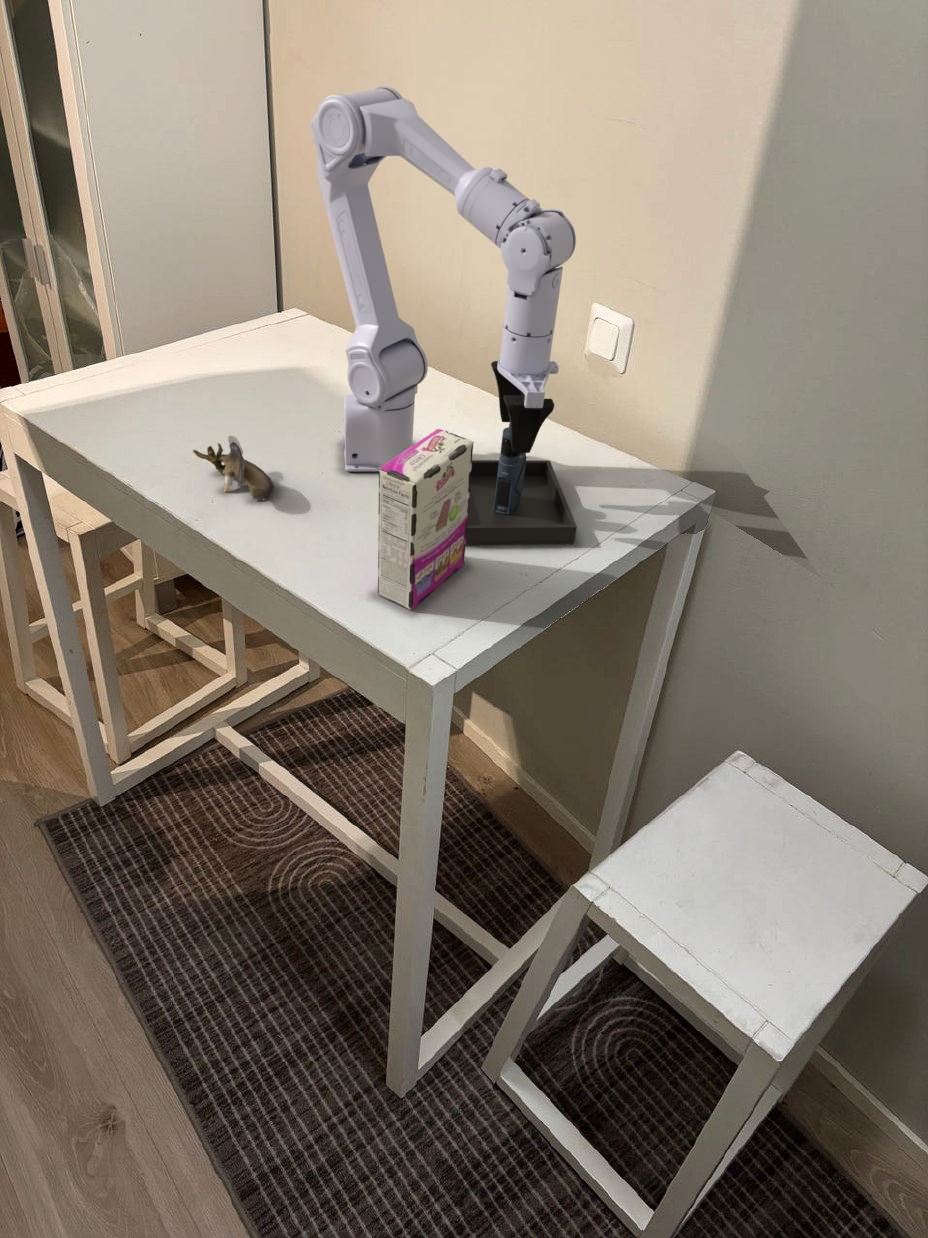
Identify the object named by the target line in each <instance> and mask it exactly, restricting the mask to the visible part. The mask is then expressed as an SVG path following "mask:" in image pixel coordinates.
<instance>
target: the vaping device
mask: <svg viewBox="0 0 928 1238" xmlns="http://www.w3.org/2000/svg"><path fill="white" fill-rule="evenodd" d="M498 460H499V467H498V475H497V483H496V493H495V502H494V511H496V512H498V513H501V514H508V515H509V514H511V513H512V511H513V510H514V509H515V507H516V506H517V504H518V503H519V501H520V496H521V495H522V487H523V480H524V473H525V465H526V460H527V453H513V451H512V447H511V436H510V423H509V424H508V426H507V427H505V428H504V429H502V436H501V445H500V453H499V459H498Z"/></svg>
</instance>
